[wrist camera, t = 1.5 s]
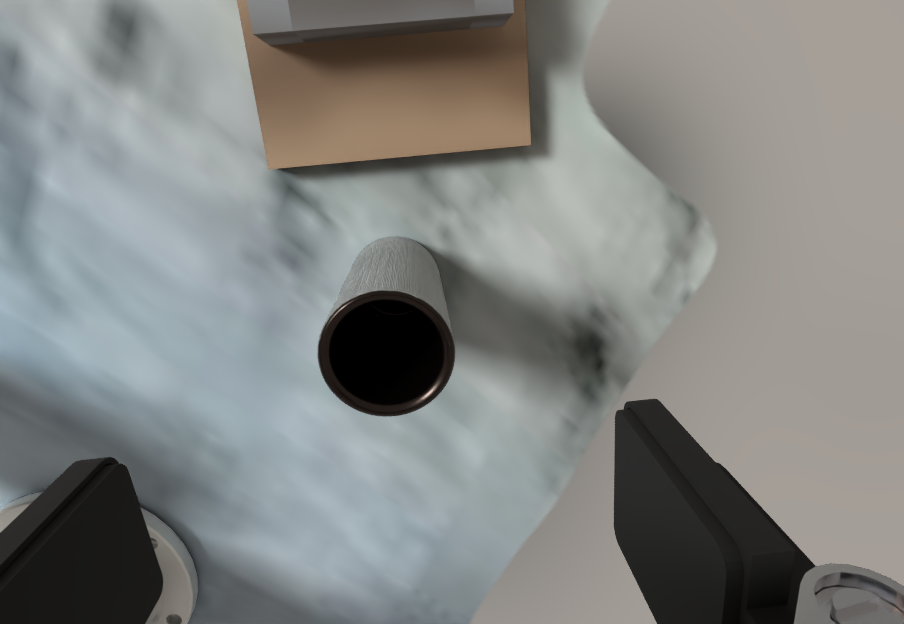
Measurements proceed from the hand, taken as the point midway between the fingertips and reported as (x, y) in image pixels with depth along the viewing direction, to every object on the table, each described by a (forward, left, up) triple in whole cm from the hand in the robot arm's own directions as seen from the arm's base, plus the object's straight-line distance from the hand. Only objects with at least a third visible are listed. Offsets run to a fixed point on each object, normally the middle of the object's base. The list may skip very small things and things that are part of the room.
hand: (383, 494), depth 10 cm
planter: (0, 0, -18) cm, 18 cm away
